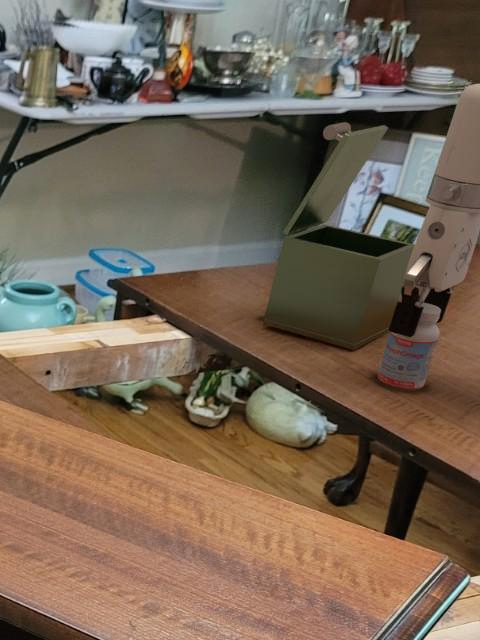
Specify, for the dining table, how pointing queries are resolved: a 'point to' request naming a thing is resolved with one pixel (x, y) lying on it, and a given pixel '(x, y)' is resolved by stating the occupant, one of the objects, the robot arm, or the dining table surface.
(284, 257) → the waste bin
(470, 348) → the dining table surface
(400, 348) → the pill bottle
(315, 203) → the bin lid
